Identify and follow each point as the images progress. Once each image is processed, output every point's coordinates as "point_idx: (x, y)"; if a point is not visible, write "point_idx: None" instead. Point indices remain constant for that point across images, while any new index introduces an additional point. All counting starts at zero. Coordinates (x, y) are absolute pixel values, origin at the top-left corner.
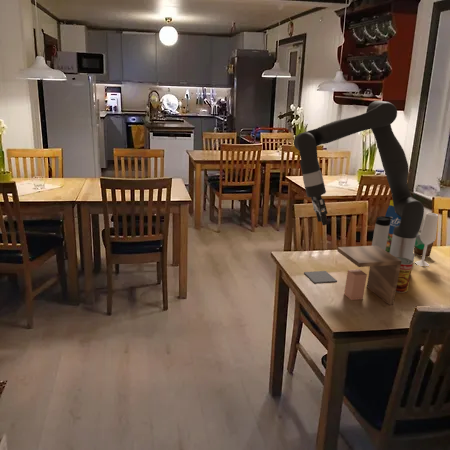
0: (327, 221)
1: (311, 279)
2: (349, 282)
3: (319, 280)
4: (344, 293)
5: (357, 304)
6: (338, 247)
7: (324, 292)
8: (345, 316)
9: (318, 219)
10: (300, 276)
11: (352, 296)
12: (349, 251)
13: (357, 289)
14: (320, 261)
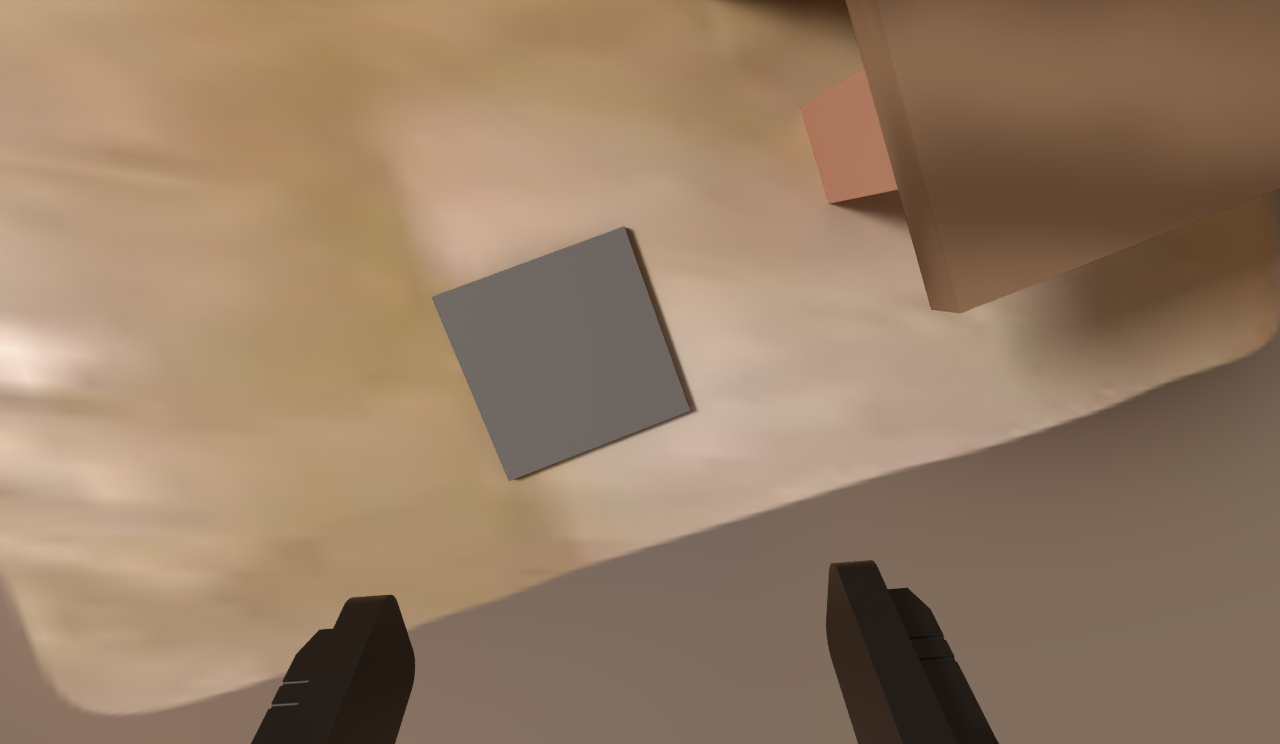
0: (890, 602)
1: (641, 429)
2: None
3: (649, 369)
4: (831, 202)
5: None
6: (967, 302)
7: (826, 347)
8: (1135, 252)
9: (400, 702)
10: (580, 505)
11: None
12: (1089, 172)
13: None
14: (178, 314)
